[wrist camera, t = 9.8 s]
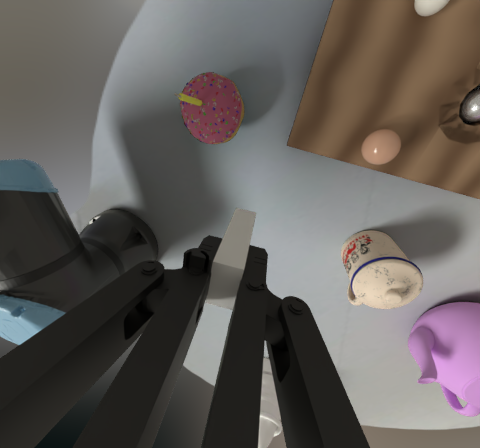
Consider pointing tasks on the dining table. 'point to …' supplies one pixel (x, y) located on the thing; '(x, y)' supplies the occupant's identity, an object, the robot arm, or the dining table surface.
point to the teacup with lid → (379, 271)
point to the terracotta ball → (381, 146)
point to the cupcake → (211, 108)
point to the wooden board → (396, 90)
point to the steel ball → (470, 107)
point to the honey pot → (268, 408)
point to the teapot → (450, 352)
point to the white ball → (429, 6)
